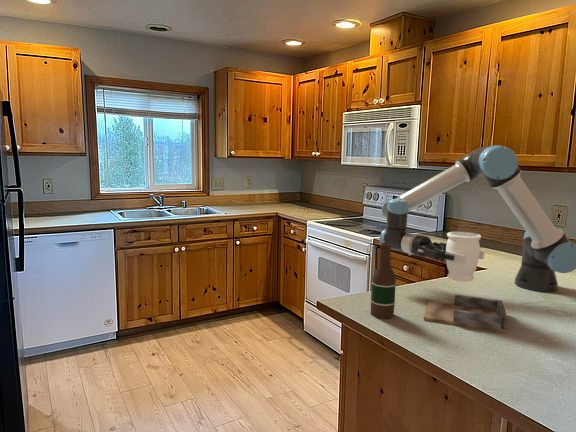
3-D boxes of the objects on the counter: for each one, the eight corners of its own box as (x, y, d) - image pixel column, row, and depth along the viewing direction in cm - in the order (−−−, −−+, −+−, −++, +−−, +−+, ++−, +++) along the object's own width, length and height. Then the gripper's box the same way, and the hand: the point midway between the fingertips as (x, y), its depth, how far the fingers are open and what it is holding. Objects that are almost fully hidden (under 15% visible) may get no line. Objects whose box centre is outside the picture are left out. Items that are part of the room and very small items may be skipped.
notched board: (502, 313, 141) (503, 300, 141) (507, 333, 126) (508, 318, 125) (427, 303, 150) (428, 290, 150) (423, 320, 135) (424, 306, 134)
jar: (450, 272, 148) (453, 230, 146) (481, 277, 141) (485, 234, 139) (439, 278, 140) (442, 234, 138) (471, 285, 133) (475, 238, 131)
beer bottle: (365, 314, 139) (368, 243, 135) (378, 308, 144) (382, 240, 141) (385, 321, 133) (389, 247, 130) (398, 315, 139) (402, 243, 135)
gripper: (435, 251, 161) (491, 263, 143) (395, 259, 148) (452, 274, 130) (436, 231, 160) (493, 242, 142) (396, 238, 147) (454, 250, 129)
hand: (474, 257), depth 136 cm, fingers closed on jar, 10 cm apart
